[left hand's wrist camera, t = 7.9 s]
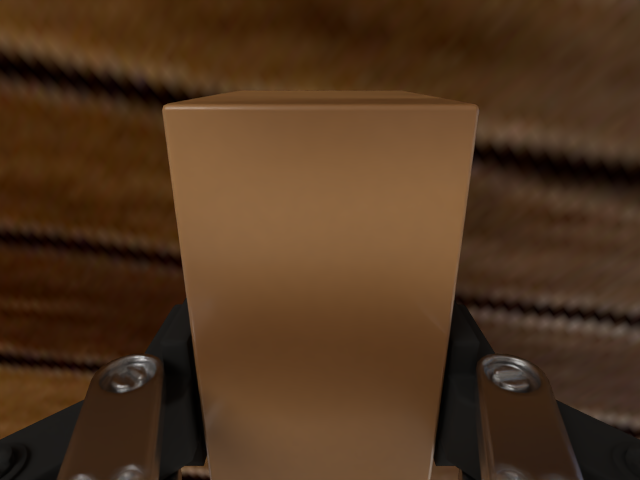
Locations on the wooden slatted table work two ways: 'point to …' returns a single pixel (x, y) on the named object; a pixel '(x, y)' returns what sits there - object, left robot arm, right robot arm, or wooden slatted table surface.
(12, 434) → the left robot arm
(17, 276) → the wooden slatted table surface
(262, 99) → the bar
